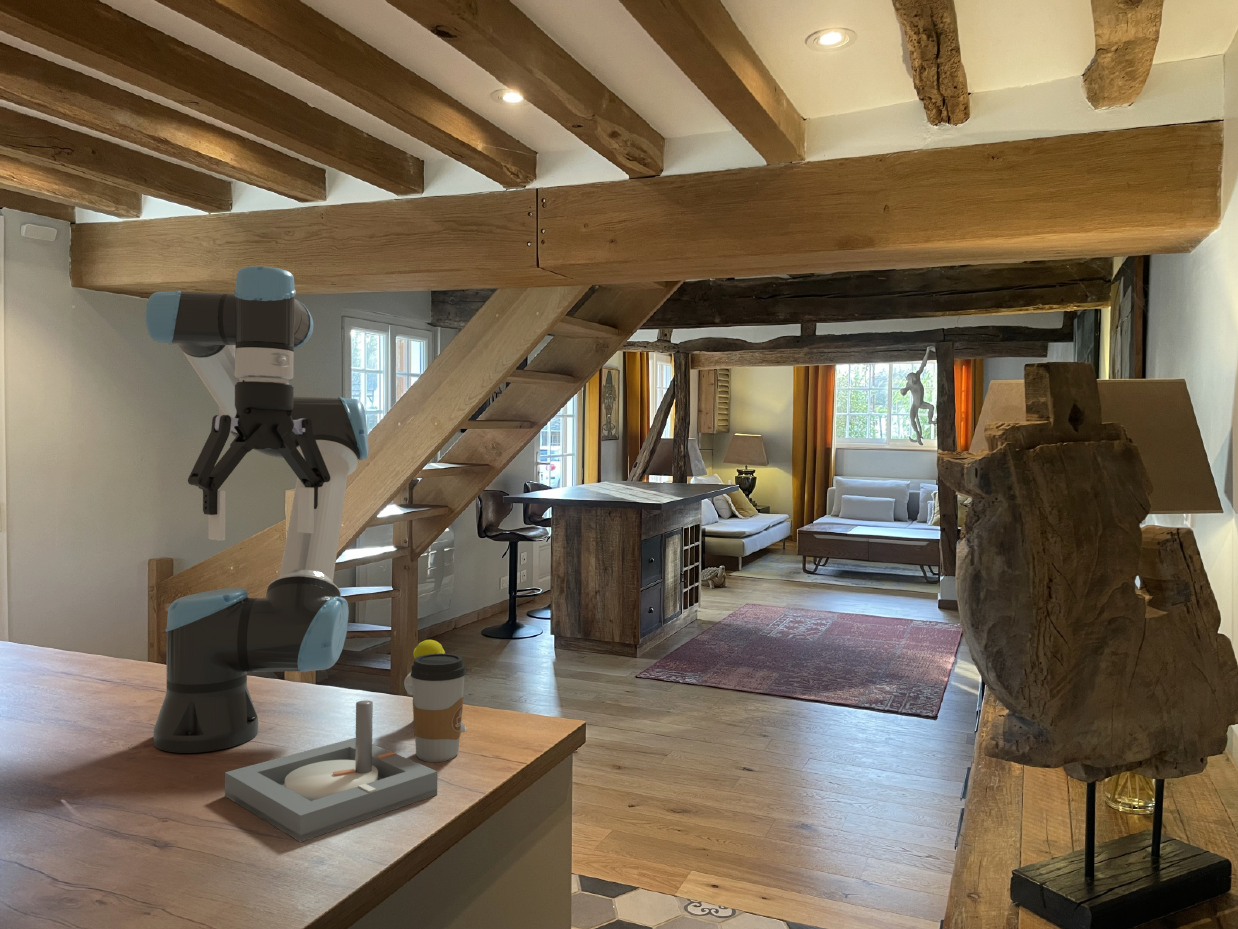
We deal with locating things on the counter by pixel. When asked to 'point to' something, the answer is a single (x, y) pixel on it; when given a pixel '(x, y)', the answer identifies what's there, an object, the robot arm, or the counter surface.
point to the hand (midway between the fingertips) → (263, 536)
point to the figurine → (425, 649)
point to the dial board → (308, 819)
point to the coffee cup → (437, 705)
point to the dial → (339, 765)
